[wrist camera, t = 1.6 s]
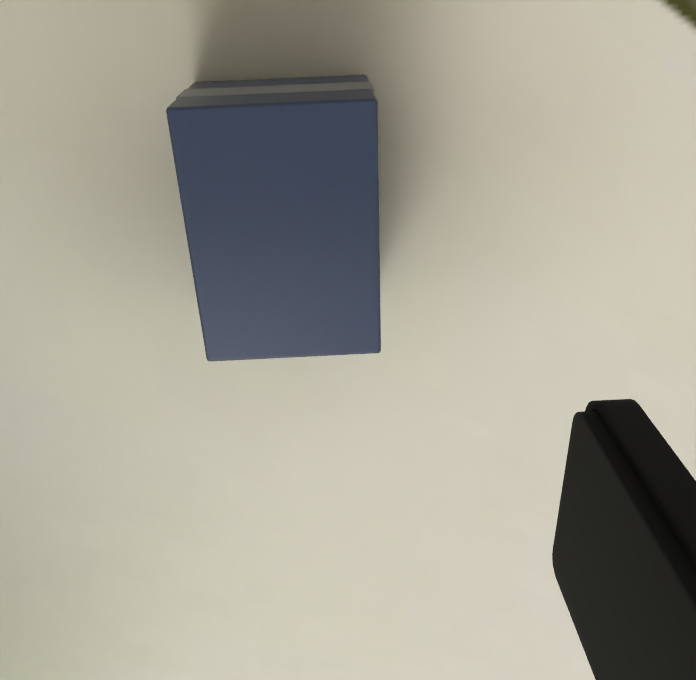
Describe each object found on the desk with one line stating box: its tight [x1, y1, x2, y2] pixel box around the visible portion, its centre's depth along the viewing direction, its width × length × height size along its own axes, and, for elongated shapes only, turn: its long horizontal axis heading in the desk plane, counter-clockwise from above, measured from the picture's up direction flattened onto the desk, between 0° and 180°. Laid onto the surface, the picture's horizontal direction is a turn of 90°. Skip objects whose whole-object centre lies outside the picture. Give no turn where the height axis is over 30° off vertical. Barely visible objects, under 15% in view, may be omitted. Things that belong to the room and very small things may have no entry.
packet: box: [166, 75, 381, 361], centre depth 19 cm, size 7×5×4 cm
